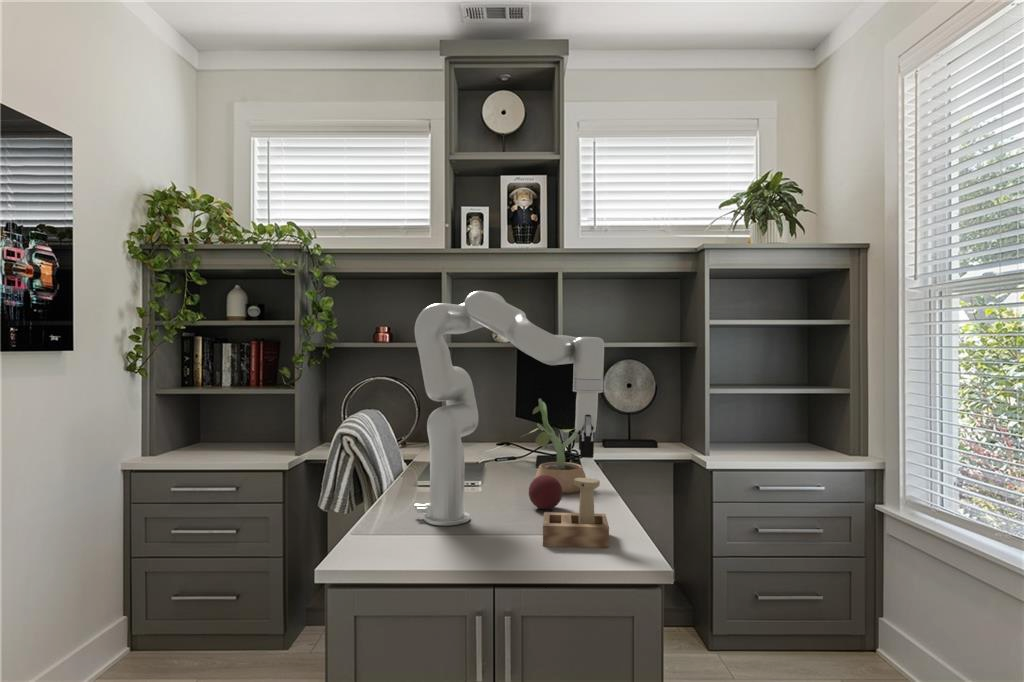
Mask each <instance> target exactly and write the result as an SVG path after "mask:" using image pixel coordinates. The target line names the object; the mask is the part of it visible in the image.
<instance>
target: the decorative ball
mask: <svg viewBox="0 0 1024 682" xmlns="http://www.w3.org/2000/svg"><path fill="white" fill-rule="evenodd" d="M528 497H529V499H530V500H529V501H530V502H531V503H532V505H533V506H535V507H536V508H538V509H541V510H545V511H546V510H550V509H551V510H552V509H553V508H556V506H558V504H559V503H560V502H561V500H562V498H563V494H562V487H561V485H560V483H559V481H558V480H557V479H555V478H554V477H552V476H549V475H541V476H538V477H536V478H534V479H533V480H532V481H531V482H530V484H529V486H528Z"/></svg>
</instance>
